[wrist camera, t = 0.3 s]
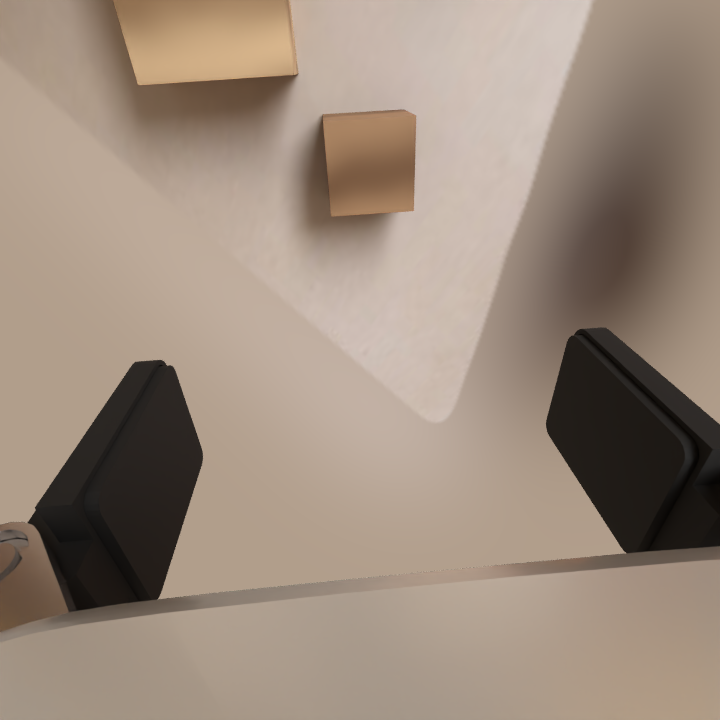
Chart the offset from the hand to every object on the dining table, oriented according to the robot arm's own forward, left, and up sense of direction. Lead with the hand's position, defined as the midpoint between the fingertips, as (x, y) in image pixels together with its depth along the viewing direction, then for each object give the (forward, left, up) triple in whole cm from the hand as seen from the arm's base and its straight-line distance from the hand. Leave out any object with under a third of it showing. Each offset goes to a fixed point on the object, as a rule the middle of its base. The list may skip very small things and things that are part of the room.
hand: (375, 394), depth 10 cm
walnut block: (-1, +2, -28) cm, 28 cm away
